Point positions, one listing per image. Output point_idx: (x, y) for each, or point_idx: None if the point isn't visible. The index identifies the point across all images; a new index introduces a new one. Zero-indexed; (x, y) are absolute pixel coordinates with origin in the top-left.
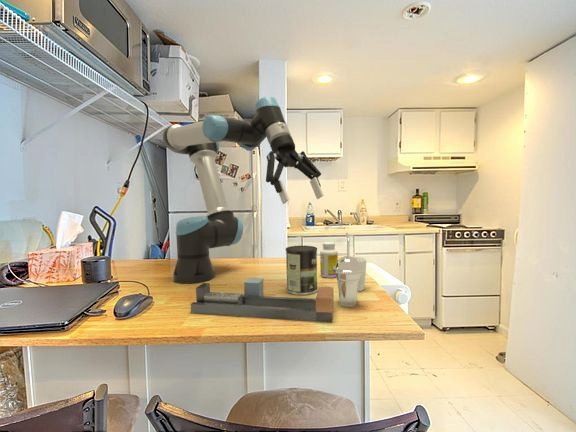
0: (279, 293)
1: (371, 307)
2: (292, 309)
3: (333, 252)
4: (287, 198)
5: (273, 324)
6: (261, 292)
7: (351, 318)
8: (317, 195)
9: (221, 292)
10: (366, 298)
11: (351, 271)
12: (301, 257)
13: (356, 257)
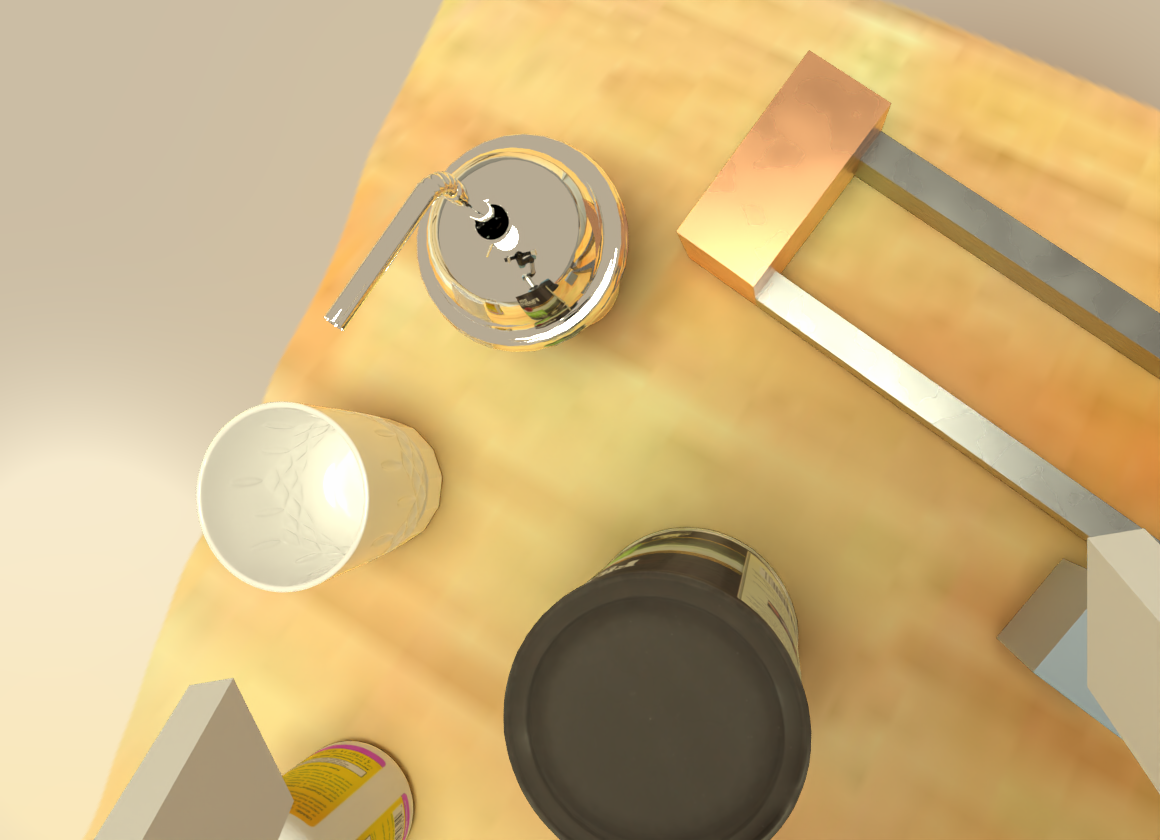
0: (861, 651)
1: None
2: (991, 217)
3: None
4: (1140, 549)
5: (1112, 213)
6: (1042, 610)
7: (683, 105)
8: (256, 808)
9: None
10: (431, 304)
11: (554, 145)
12: (727, 586)
13: (221, 548)
